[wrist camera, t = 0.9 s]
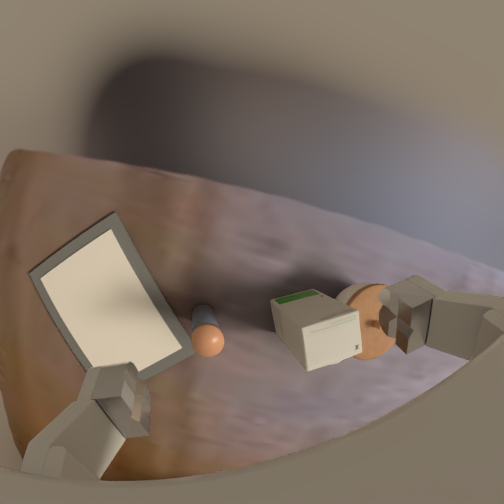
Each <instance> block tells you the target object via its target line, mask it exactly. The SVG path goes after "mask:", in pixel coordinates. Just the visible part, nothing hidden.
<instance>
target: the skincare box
mask: <svg viewBox="0 0 504 504" xmlns="http://www.w3.org/2000/svg"><path fill="white" fill-rule="evenodd" d="M270 305H271V310H272V315H273V320H274V325H275V330H276V334H277V335H278V336H279V337H280V339H281V340H282V341H283V342H284V344H285V345H286V346H287V347H288V349H289V350H290V351H291V352H292V354H293V355H294V356H295V357H296V359H297V360H298V361H299V362H300V364H301V365H302V366H303V367H304V369H305V370H306V371H307V372H308V371H311V370H314V369H317V368H320V367H323V366H326V365H329V364H337V363H339V362H340V361H341V360H343V359H346V358H348V357H351V356H354V355H356V354H359V353H361V352H362V342H361V332H360V321H359V311H358V310H356V309H354V308H352V307H350V306H348V305H346V304H344V303H342V302H339V301H337V300H335V299H333V298H331V297H329V296H327V295H325V294H323V293H321V292H319V291H317V290H315V289H310V290H306V291H302V292H298V293H294V294H290V295H287V296H283V297H279V298H274V299H271V300H270Z"/></svg>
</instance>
